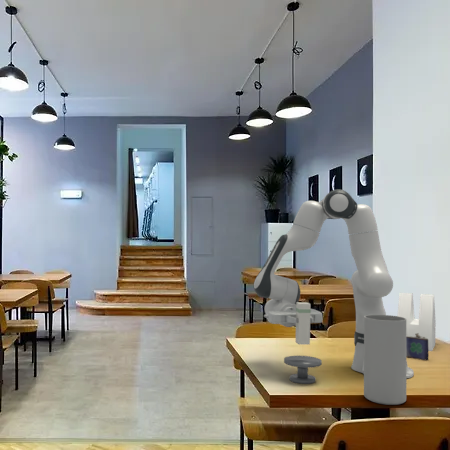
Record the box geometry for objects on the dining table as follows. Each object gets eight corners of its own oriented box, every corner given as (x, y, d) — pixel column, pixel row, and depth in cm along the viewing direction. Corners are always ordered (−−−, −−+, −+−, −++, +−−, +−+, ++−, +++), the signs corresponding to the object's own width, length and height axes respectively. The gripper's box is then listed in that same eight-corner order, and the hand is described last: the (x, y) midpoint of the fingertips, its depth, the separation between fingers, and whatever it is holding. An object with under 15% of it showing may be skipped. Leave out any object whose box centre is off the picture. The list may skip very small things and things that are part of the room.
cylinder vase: (357, 392, 150) (358, 314, 152) (395, 392, 151) (395, 314, 152) (372, 405, 138) (373, 320, 139) (413, 405, 139) (413, 321, 140)
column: (306, 342, 166) (307, 302, 167) (309, 344, 162) (310, 303, 163) (295, 341, 166) (296, 302, 166) (298, 344, 161) (299, 303, 162)
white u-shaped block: (432, 351, 214) (432, 296, 215) (396, 347, 221) (396, 294, 222) (435, 344, 230) (435, 293, 232) (402, 340, 238) (402, 291, 239)
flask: (405, 357, 201) (405, 332, 201) (407, 356, 203) (407, 331, 204) (427, 360, 195) (427, 335, 195) (429, 359, 197) (429, 334, 198)
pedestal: (324, 377, 166) (325, 358, 167) (316, 387, 155) (317, 366, 155) (289, 373, 172) (289, 354, 172) (279, 382, 160) (279, 361, 160)
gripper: (262, 306, 174) (276, 312, 160) (312, 306, 179) (330, 311, 166) (262, 323, 173) (276, 330, 160) (311, 322, 179) (329, 329, 166)
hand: (304, 320), depth 163 cm, fingers closed on column, 4 cm apart
